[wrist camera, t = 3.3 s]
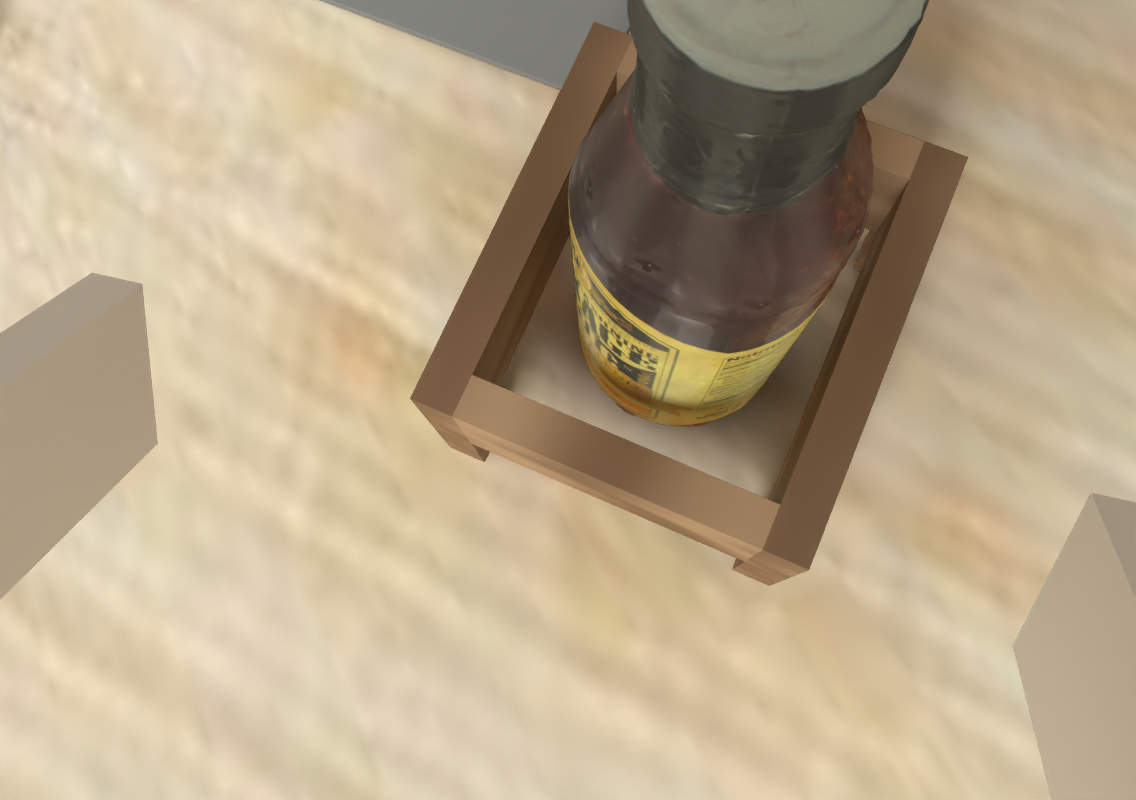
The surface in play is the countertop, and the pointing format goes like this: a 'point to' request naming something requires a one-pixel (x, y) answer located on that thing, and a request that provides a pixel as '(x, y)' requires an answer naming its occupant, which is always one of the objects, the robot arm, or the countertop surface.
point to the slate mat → (502, 29)
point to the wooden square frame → (629, 471)
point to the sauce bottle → (724, 192)
